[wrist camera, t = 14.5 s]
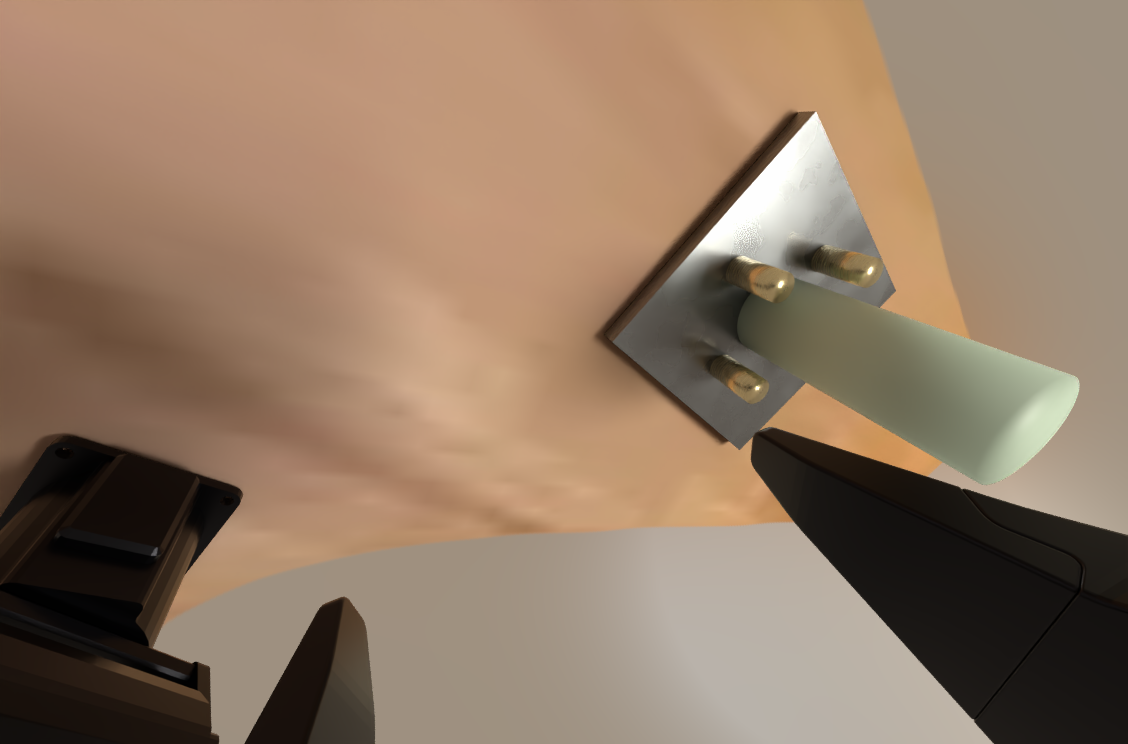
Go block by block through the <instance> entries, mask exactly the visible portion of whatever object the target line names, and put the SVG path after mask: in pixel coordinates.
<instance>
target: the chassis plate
mask: <svg viewBox="0 0 1128 744" xmlns="http://www.w3.org/2000/svg"><path fill="white" fill-rule="evenodd" d="M794 278H797V279H799V280H802V281H805V282H808V283H811V284H814V285H817V286H819V287H822V288H825V289H828V290H831V291H834V292H836V293H839V294H842V295H845V296H848V297H851V298H854V299H856V300H859V301H862V302H865V303H868V304H871V305H873V306H876V307H879V308H880V307H881V306H882V305H883V304H884V303H885V302H886V300H887V299H888V298H889V297H890V296H891V295H892V294H893V293H894V292H895V291H896V290H895V288H894V285H893V283H892V281H891V279H890V276H889V274H888V272H887V270H886V267H885V265H884V263H883V261H882V258H881V256H880V254H879V252H878V249H877V247H876V245H875V243H874V240H873V238H872V236H871V234H870V231H869V229H868V227H867V225H866V223H865V220H864V218H863V216H862V214H861V211H860V209H859V207H858V205H857V202H856V200H855V198H854V196H853V193H852V191H851V189H850V187H849V184H848V182H847V180H846V178H845V175H844V173H843V171H842V169H841V166H840V164H839V162H838V160H837V157H836V155H835V153H834V151H833V148H832V146H831V144H830V142H829V139H828V137H827V135H826V133H825V130H824V128H823V126H822V124H821V121H820V119H819V117H818V115H817V113H816V111H814V112H799V113H798V114H797V115H796V116H795V117H794V118H793V119H792V121H791V122H790V123H789V124H788V125H787V126H786V127H785V129H784V130H783V131H782V132H781V133H780V134H779V135H778V137H777V138H776V139H775V140H774V141H773V142H772V143H771V145H770V146H769V147H768V148H767V149H766V150H765V151H764V153H763V154H762V155H761V156H760V157H759V158H758V159H757V161H756V162H755V163H754V164H753V165H752V166H751V167H750V169H749V170H748V171H747V172H746V173H745V174H744V175H743V177H742V178H741V179H740V180H739V181H738V182H737V183H736V185H735V186H734V187H733V188H732V189H731V190H730V191H729V193H728V194H727V195H726V196H725V197H724V198H723V199H722V201H721V202H720V203H719V204H718V205H717V206H716V207H715V209H714V210H713V211H712V212H711V213H710V214H709V215H708V216H707V218H706V219H705V220H704V221H703V222H702V223H701V224H700V226H699V227H698V228H697V229H696V230H695V231H694V232H693V234H692V235H691V236H690V237H689V238H688V239H687V240H686V242H685V243H684V244H683V245H682V246H681V247H680V248H679V250H678V251H677V252H676V253H675V254H674V255H673V256H672V258H671V259H670V260H669V261H668V262H667V263H666V264H665V266H664V267H663V268H662V269H661V270H660V271H659V272H658V274H657V275H656V276H655V277H654V278H653V279H652V280H651V282H650V283H649V284H648V285H647V286H646V287H645V288H644V290H643V291H642V292H641V293H640V294H639V295H638V296H637V298H636V299H635V300H634V301H633V302H632V303H631V304H630V306H629V307H628V308H627V309H626V310H625V311H624V312H623V314H622V315H621V316H620V317H619V318H618V319H617V320H616V322H615V323H614V324H613V325H612V326H611V327H610V328H609V330H608V331H607V332H606V333H605V334H604V335H605V336H606V337H607V338H608V339H609V340H611V341H612V342H613V343H614V344H615V345H616V346H617V347H619V348H620V349H621V350H622V351H623V352H624V353H626V354H627V355H628V356H629V357H630V358H632V359H633V360H634V361H635V362H636V363H637V364H639V365H640V366H641V367H642V368H643V369H645V370H646V371H647V372H648V373H649V374H650V375H652V376H653V377H654V378H655V379H656V380H658V381H659V382H660V383H661V384H662V385H663V386H665V387H666V388H667V389H668V390H669V391H671V392H672V393H673V394H674V395H675V396H676V397H678V398H679V399H680V400H681V401H682V402H683V403H685V404H686V405H687V406H688V407H689V408H691V409H692V410H693V411H694V412H695V413H696V414H698V415H699V416H700V417H701V418H702V419H704V420H705V421H706V422H707V423H708V424H709V425H711V426H712V427H713V428H714V429H715V430H717V431H718V432H719V433H720V434H721V435H722V436H724V437H725V438H726V439H727V440H728V441H730V442H731V443H732V444H733V445H734V446H735V447H737V448H738V449H739V450H740V449H741V448H742V447H743V446H744V445H745V444H746V443H747V442H748V441H749V440H750V439H751V438H752V437H753V435H754V434H755V433H756V432H757V431H759V430H760V429H761V428H762V427H763V426H764V425H765V424H766V423H767V422H768V421H769V420H770V419H771V418H772V417H773V416H774V414H775V413H776V412H777V411H778V410H779V409H780V408H781V407H782V406H783V405H784V404H785V403H786V402H787V401H788V400H789V399H790V398H791V397H792V396H793V395H794V394H795V393H796V392H797V391H798V390H799V389H800V388H801V387H802V386H803V385H804V384H805V383H806V382H805V381H803V380H801V379H800V378H798V377H796V376H794V375H793V374H791V373H789V372H788V371H786V370H784V369H782V368H781V367H779V366H777V365H776V364H774V363H772V362H770V361H769V360H767V359H765V358H764V357H762V356H760V355H758V354H757V353H755V352H753V351H752V350H750V349H748V348H746V347H745V346H744V345H743V344H742V343H741V341H740V340H739V337H738V333H737V322H738V317H739V314H740V311H741V308H742V306H743V304H744V302H745V301H746V299H747V298H748V296H749V295H750V294H751V293H752V294H754V295H757V296H759V297H761V298H763V299H766V300H768V301H770V302H772V303H780V302H782V301H784V300H785V299H786V298H787V297H788V296H789V295H790V294H791V292H792V290H793V288H794V283H795V279H794Z"/></svg>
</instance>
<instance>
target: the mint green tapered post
mask: <svg viewBox="0 0 1128 744" xmlns="http://www.w3.org/2000/svg"><path fill="white" fill-rule="evenodd" d="M794 279H795V283H794V288H793V290H792V292H791V294H790V295H789V296H788V297H787V298H786V299H785V300H784V301H782V302H780V303H772V302H770V301H768V300H766V299H763V298H761V297H759V296H757V295H754V294H752V293H751V294H750V295H749V296H748V298H747V299H746V301H745V302H744V304H743V306H742V308H741V311H740V314H739V317H738V322H737V333H738V337H739V340H740V341H741V343H742V344H743V345H744V346H745V347H746V348H748V349H750V350H752V351H753V352H755V353H757V354H758V355H760V356H762V357H764V358H765V359H767V360H769V361H770V362H772V363H774V364H776V365H777V366H779V367H781V368H782V369H784V370H786V371H788V372H789V373H791V374H793V375H794V376H796V377H798V378H800V379H801V380H803V381H805V382H806V383H808V384H810V385H811V386H813V387H815V388H817V389H818V390H820V391H822V392H823V393H825V394H827V395H829V396H830V397H832V398H834V399H835V400H837V401H839V402H841V403H842V404H844V405H846V406H847V407H849V408H851V409H853V410H854V411H856V412H858V413H859V414H861V415H863V416H865V417H866V418H868V419H870V420H871V421H873V422H875V423H877V424H878V425H880V426H882V427H883V428H885V429H887V430H889V431H890V432H892V433H894V434H895V435H897V436H899V437H901V438H902V439H904V440H906V441H907V442H909V443H911V444H913V445H914V446H916V447H918V448H919V449H921V450H923V451H925V452H926V453H928V454H930V455H931V456H933V457H935V458H937V459H938V460H940V461H942V462H943V463H945V464H947V465H949V466H950V467H952V468H954V469H956V470H957V471H959V472H961V473H962V474H964V475H966V476H967V477H969V478H971V479H973V480H974V481H976V482H978V483H980V484H982V485H990V484H993V483H996V482H999V481H1001V480H1003V479H1005V478H1006V477H1008V476H1010V475H1011V474H1012V473H1014V472H1015V471H1017V470H1018V469H1020V468H1021V467H1022V466H1023V465H1025V464H1026V463H1027V462H1028V461H1029V460H1030V459H1032V458H1033V457H1034V456H1035V455H1036V454H1037V453H1038V452H1039V451H1040V450H1041V449H1042V448H1043V446H1045V445H1046V443H1047V442H1048V441H1049V440H1050V439H1051V438H1052V437H1053V435H1054V434H1055V433H1056V432H1057V430H1058V429H1059V427H1060V426H1061V425H1062V424H1063V422H1064V421H1065V419H1066V417H1067V416H1068V414H1069V413H1070V411H1071V409H1072V407H1073V405H1074V403H1075V401H1076V398H1077V396H1078V392H1079V381H1078V379H1077V378H1076V377H1075V376H1073V375H1069V374H1067V373H1064V372H1061V371H1058V370H1056V369H1053V368H1050V367H1047V366H1044V365H1041V364H1039V363H1036V362H1033V361H1030V360H1027V359H1024V358H1021V357H1018V356H1015V355H1013V354H1010V353H1007V352H1004V351H1002V350H999V349H996V348H993V347H990V346H987V345H984V344H982V343H979V342H976V341H973V340H970V339H967V338H965V337H962V336H959V335H956V334H953V333H950V332H947V331H945V330H942V329H939V328H936V327H933V326H930V325H928V324H925V323H922V322H919V321H916V320H913V319H910V318H908V317H905V316H902V315H899V314H896V313H893V312H891V311H888V310H885V309H882V308H879V307H876V306H873V305H871V304H868V303H865V302H862V301H859V300H856V299H854V298H851V297H848V296H845V295H842V294H839V293H836V292H834V291H831V290H828V289H825V288H822V287H819V286H817V285H814V284H811V283H808V282H805V281H802V280H799V279H797V278H794Z"/></svg>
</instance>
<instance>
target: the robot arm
mask: <svg viewBox="0 0 1128 744" xmlns="http://www.w3.org/2000/svg"><path fill="white" fill-rule="evenodd" d="M62 448H68V449H70V450H72V451H73V452H67V451H65V450H63V449H62ZM751 463H752V465H753V467H754V469H755V470H756V472H757V473H758V474H759V476H760V477H761V478H762V480H763V481H764V483H765V484H766V485H767V487H768V488H769V489H770V491H771V492H772V493H773V495H774V496H775V497H776V499H777V500H778V501H779V503H780V504H781V505H782V507H783V508H784V509H785V511H786V512H787V513H788V515H789V516H790V517H791V519H792V520H793V521H794V522H795V524H796V525H797V526H798V527H799V528H800V529H801V531H802V532H803V533H804V534H805V535H806V536H807V537H808V538H809V539H810V541H811V542H812V543H813V544H814V545H815V546H816V547H817V548H818V549H819V551H820V552H821V553H822V554H823V555H824V556H825V557H826V558H827V559H828V560H829V562H830V563H831V564H832V565H833V566H834V567H835V568H836V569H837V570H838V572H839V573H840V574H841V575H842V576H843V577H844V578H845V579H846V580H847V581H848V582H849V584H850V585H851V586H852V587H853V588H854V589H855V590H856V591H857V592H858V594H859V595H860V596H861V597H862V598H863V599H864V600H865V601H866V602H867V604H868V605H869V606H870V607H871V608H872V609H873V610H874V611H875V612H876V613H877V614H878V616H879V617H880V618H881V619H882V620H883V621H884V622H885V623H886V625H887V626H888V627H889V628H890V629H891V630H892V631H893V632H894V633H895V634H896V636H898V638H899V639H900V640H901V641H902V642H903V643H904V644H905V646H906V647H907V648H908V649H909V650H910V651H911V652H912V653H913V654H914V656H916V658H917V659H918V660H919V661H920V662H921V663H922V664H923V666H924V667H925V668H926V669H927V670H928V671H929V672H930V673H931V674H932V675H933V676H934V678H935V679H936V680H937V681H938V682H939V683H940V684H941V685H942V686H943V688H945V690H946V691H947V692H948V693H949V694H950V695H951V696H952V698H953V699H954V700H955V701H956V702H957V703H958V704H959V705H960V706H961V707H962V709H963V710H964V711H965V712H966V713H967V714H968V715H969V716H970V717H971V718H972V719H974V722H975V723H976V724H977V726H978V727H979V728H980V729H981V730H982V731H983V732H984V733H985V734H986V736H987V737H988V738H989V739H990V740H991V741H992V742H993V743H994V744H1128V535H1125V534H1122V533H1118V532H1114V531H1110V530H1107V529H1103V528H1099V527H1095V526H1091V525H1088V524H1084V523H1080V522H1076V521H1073V520H1069V519H1065V518H1061V517H1058V516H1054V515H1050V514H1047V513H1043V512H1040V511H1036V510H1032V509H1029V508H1025V507H1022V506H1019V505H1015V504H1012V503H1009V502H1006V501H1002V500H999V499H996V498H992V497H989V496H986V495H983V494H980V493H977V492H974V491H971V490H967V489H961V488H960V487H958V486H954V485H951V484H948V483H945V482H942V481H939V480H936V479H932V478H930V477H927V476H923V475H920V474H917V473H914V472H911V471H908V470H905V469H902V468H898V467H895V466H892V465H889V464H886V463H883V462H880V461H877V460H874V459H870V458H867V457H864V456H861V455H858V454H855V453H852V452H849V451H846V450H842V449H839V448H836V447H833V446H830V445H827V444H824V443H821V442H817V441H814V440H811V439H808V438H805V437H802V436H799V435H796V434H793V433H789V432H786V431H783V430H780V429H777V428H773V427H768V428H765V429H763V430H760V431H757V432H756V433H755V434H754V435H753V440H752V450H751ZM224 497H231V498H233V499H226V498H224ZM242 497H243V493H242V491H241V490H240V489H239V488H237V487H234V486H231V485H228V484H224V483H221V482H218V481H215V480H212V479H208V478H205V477H202V476H199V475H196V474H193V473H189V472H186V471H183V470H180V469H177V468H173V467H170V466H167V465H164V464H161V463H157V462H154V461H151V460H148V459H145V458H141V457H138V456H135V455H132V454H129V453H126V452H122V451H119V450H116V449H113V448H110V447H106V446H103V445H100V444H97V443H94V442H90V441H87V440H84V439H81V438H78V437H73V436H63V437H60V438H57V439H56V440H55V441H54V442H53V443H52V444H51V445H50V446H48V447H47V449H46V450H45V452H44V453H43V455H42V456H41V458H40V459H39V461H38V462H37V463H36V465H35V466H34V468H33V469H32V471H31V472H30V474H29V475H28V477H27V478H26V480H25V481H24V483H23V484H22V486H21V487H20V489H19V490H18V492H17V493H16V495H15V496H14V498H13V499H12V501H11V502H10V504H9V505H8V507H7V508H6V510H5V511H4V513H3V514H2V516H1V517H0V744H219V736H218V735H217V734H214V733H211V728H212V727H211V701H210V667H209V666H206V665H204V664H201V663H199V662H194V663H189V662H187V661H184V660H181V659H179V658H176V657H173V656H171V655H168V654H166V653H163V652H161V651H158V650H156V649H153V646H154V644H155V641H156V639H157V637H158V634H159V632H160V630H161V628H162V625H163V623H164V621H165V618H166V616H167V614H168V612H169V609H170V607H171V605H172V602H173V600H174V598H175V596H176V593H177V591H178V589H179V586H180V584H181V582H182V580H183V577H184V575H185V574H186V573H187V571H188V570H189V569H190V568H191V566H192V565H193V564H194V562H195V561H196V560H197V558H198V557H199V556H200V555H201V553H202V552H203V551H204V549H205V548H206V547H207V546H208V544H209V543H210V542H211V540H212V539H213V538H214V537H215V535H216V534H217V533H218V531H219V530H220V529H221V528H222V526H223V525H224V524H225V522H226V521H227V520H228V519H229V517H230V516H231V515H232V513H233V512H234V511H235V510H236V508H237V507H238V506H239V504H240V502H241V499H242ZM245 744H375V715H374V702H373V692H372V681H371V671H370V661H369V652H368V641H367V631H366V626H365V623H364V620H363V619H362V617H361V616H360V614H359V613H358V611H357V610H356V609H355V607H354V606H353V605H352V603H351V602H350V600H349V599H348V598H346V597H340V598H338V599H335V600H333V601H330V602H328V603H325V604H324V605H322V606H321V607H320V608H319V610H318V612H317V613H316V615H315V617H314V619H313V621H312V622H311V624H310V626H309V628H308V630H307V631H306V633H305V635H304V637H303V639H302V641H301V642H300V644H299V646H298V648H297V649H296V651H295V653H294V655H293V657H292V659H291V660H290V662H289V664H288V666H287V668H286V670H285V671H284V673H283V675H282V677H281V679H280V680H279V682H278V684H277V686H276V687H275V689H274V691H273V693H272V695H271V696H270V698H269V700H268V702H267V704H266V706H265V708H264V709H263V711H262V713H261V715H260V716H259V718H258V720H257V722H256V724H255V725H254V727H253V729H252V731H251V733H250V735H249V736H248V738H247V740H246V742H245Z"/></svg>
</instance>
